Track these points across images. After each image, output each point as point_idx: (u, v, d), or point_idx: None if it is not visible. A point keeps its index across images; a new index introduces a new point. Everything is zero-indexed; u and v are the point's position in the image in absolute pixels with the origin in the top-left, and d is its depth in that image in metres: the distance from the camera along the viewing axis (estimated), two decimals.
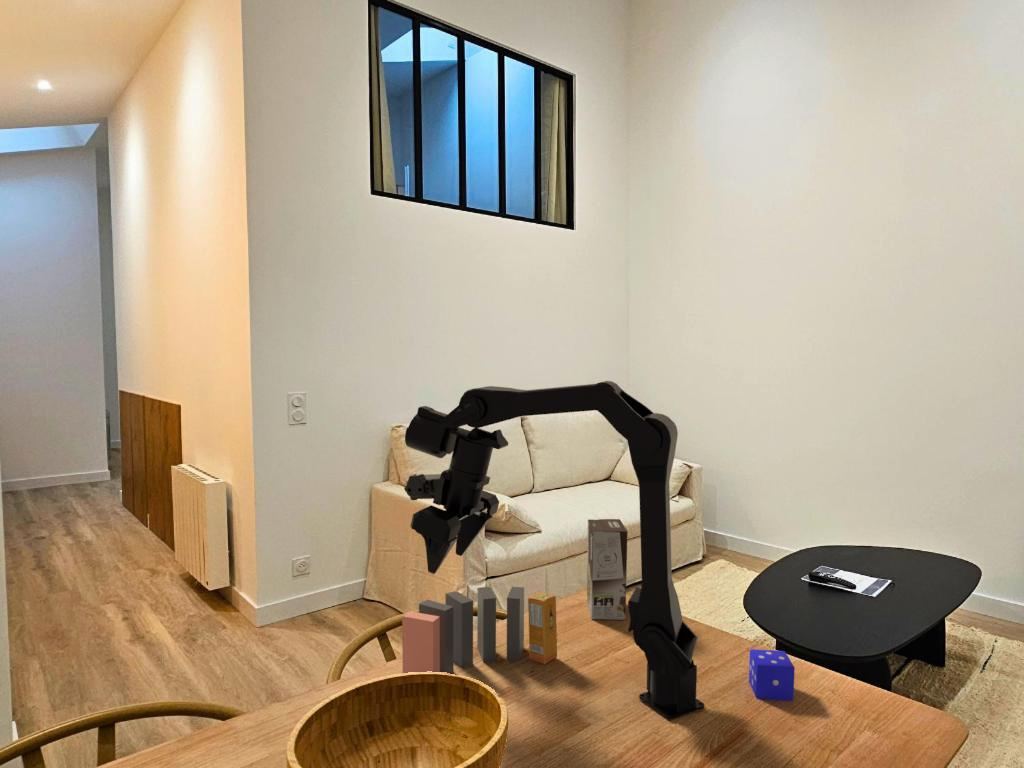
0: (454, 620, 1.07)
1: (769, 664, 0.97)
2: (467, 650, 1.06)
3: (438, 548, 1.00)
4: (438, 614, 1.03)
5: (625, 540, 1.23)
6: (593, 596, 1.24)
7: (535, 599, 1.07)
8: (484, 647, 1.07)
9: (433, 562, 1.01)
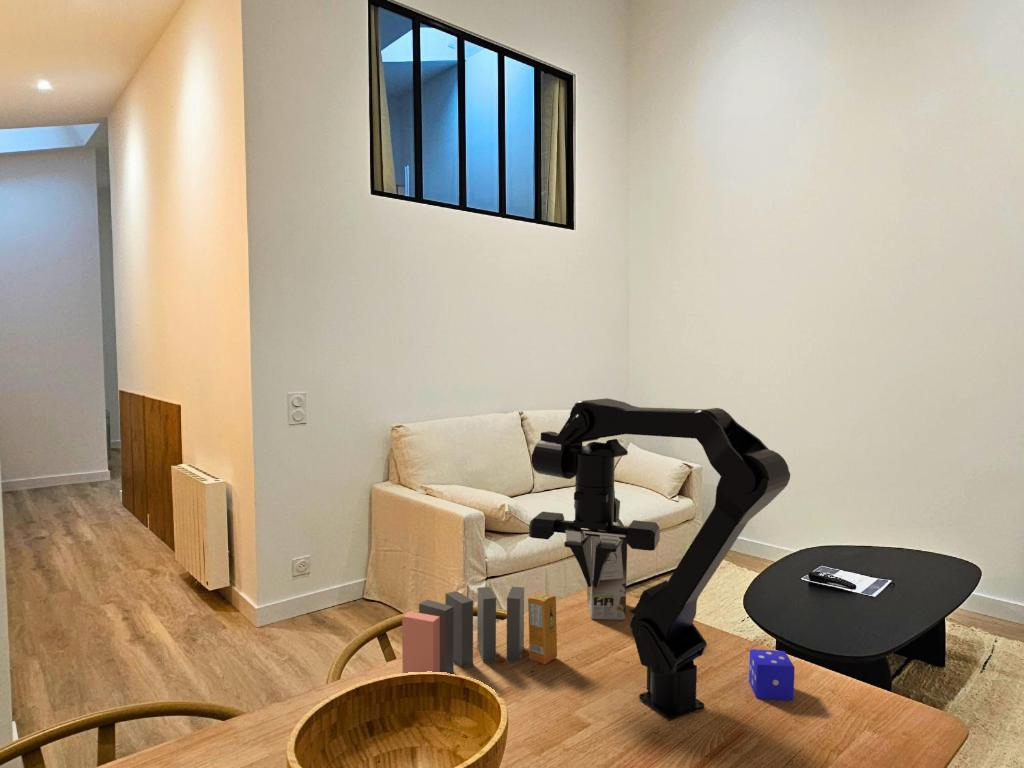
0: (454, 620, 1.07)
1: (769, 663, 0.97)
2: (467, 650, 1.06)
3: None
4: (438, 614, 1.03)
5: (625, 540, 1.23)
6: (593, 596, 1.24)
7: (535, 600, 1.07)
8: (484, 647, 1.07)
9: None
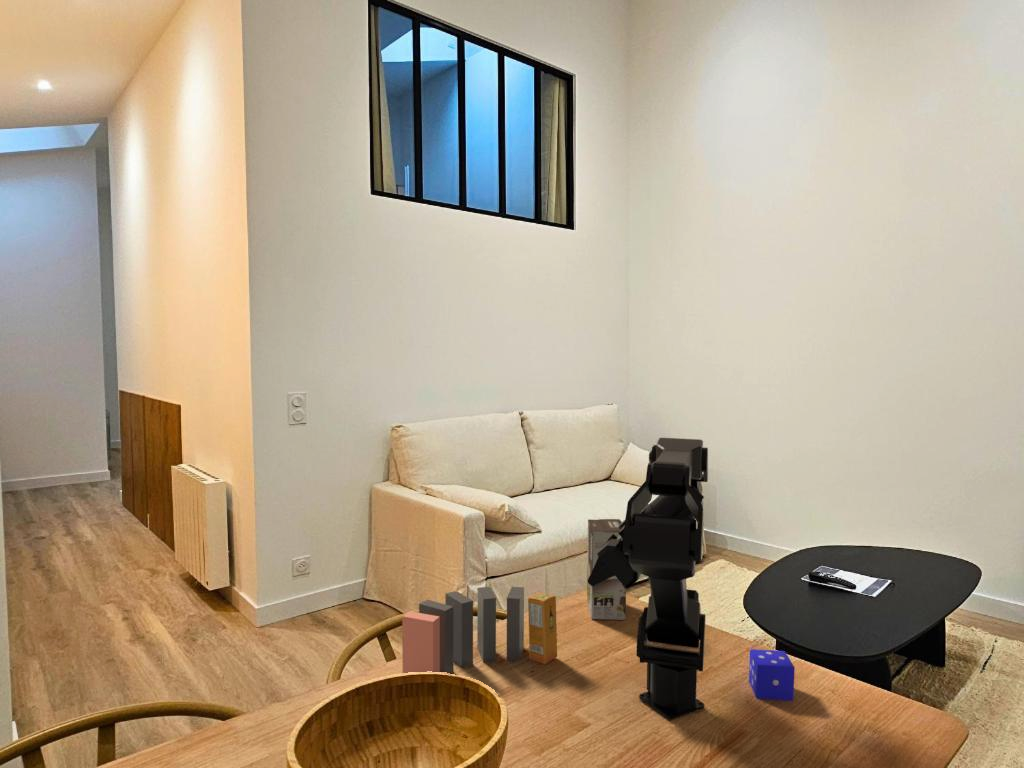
0: (454, 620, 1.07)
1: (769, 663, 0.97)
2: (467, 650, 1.06)
3: None
4: (438, 614, 1.03)
5: None
6: (593, 596, 1.24)
7: (535, 600, 1.07)
8: (484, 647, 1.07)
9: None
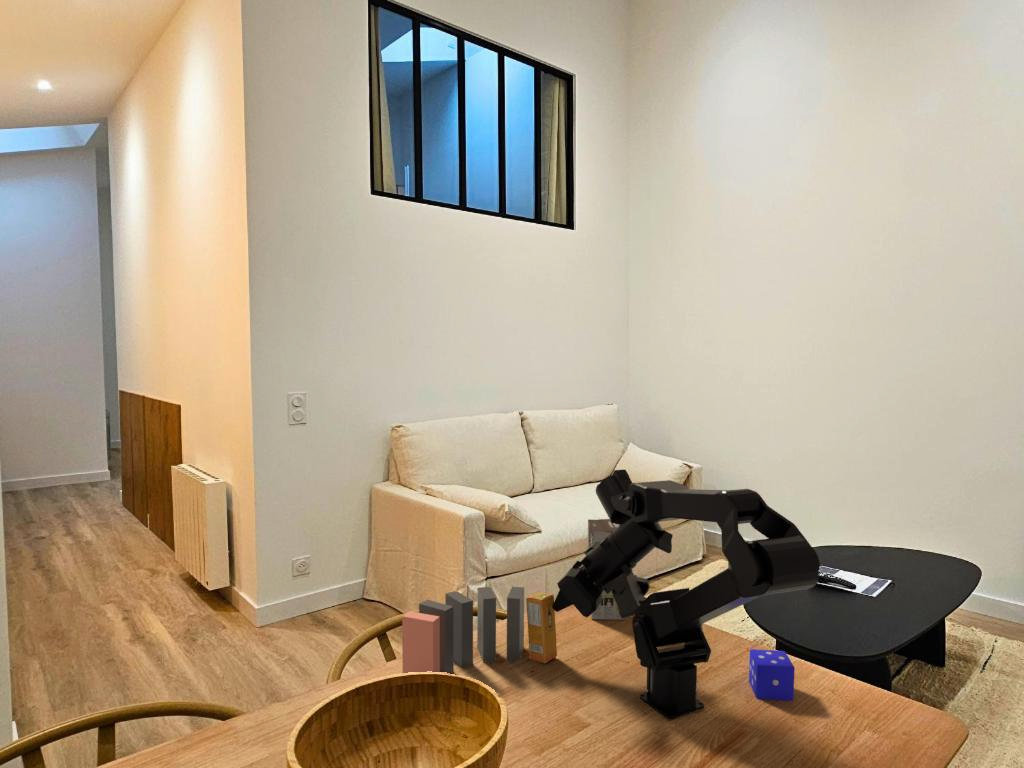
0: (454, 620, 1.07)
1: (769, 663, 0.97)
2: (467, 650, 1.06)
3: None
4: (438, 614, 1.03)
5: None
6: None
7: (533, 599, 1.07)
8: (484, 647, 1.07)
9: None
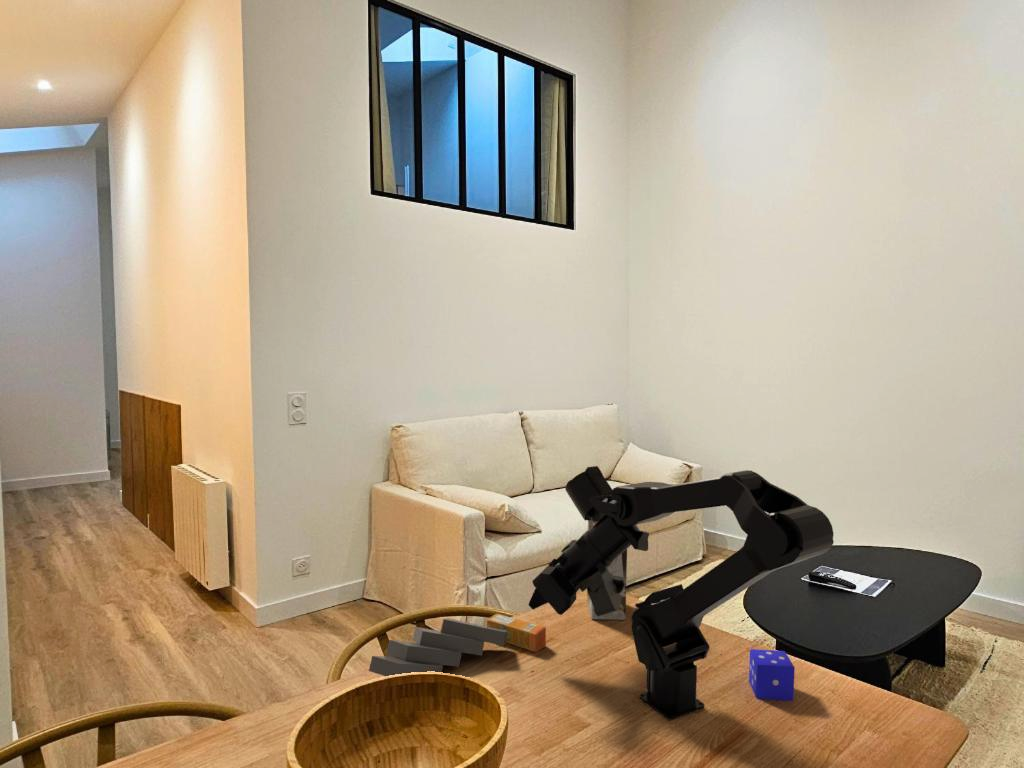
0: None
1: (769, 663, 0.97)
2: (447, 658, 1.03)
3: None
4: None
5: None
6: None
7: (491, 617, 1.17)
8: (467, 651, 1.06)
9: None
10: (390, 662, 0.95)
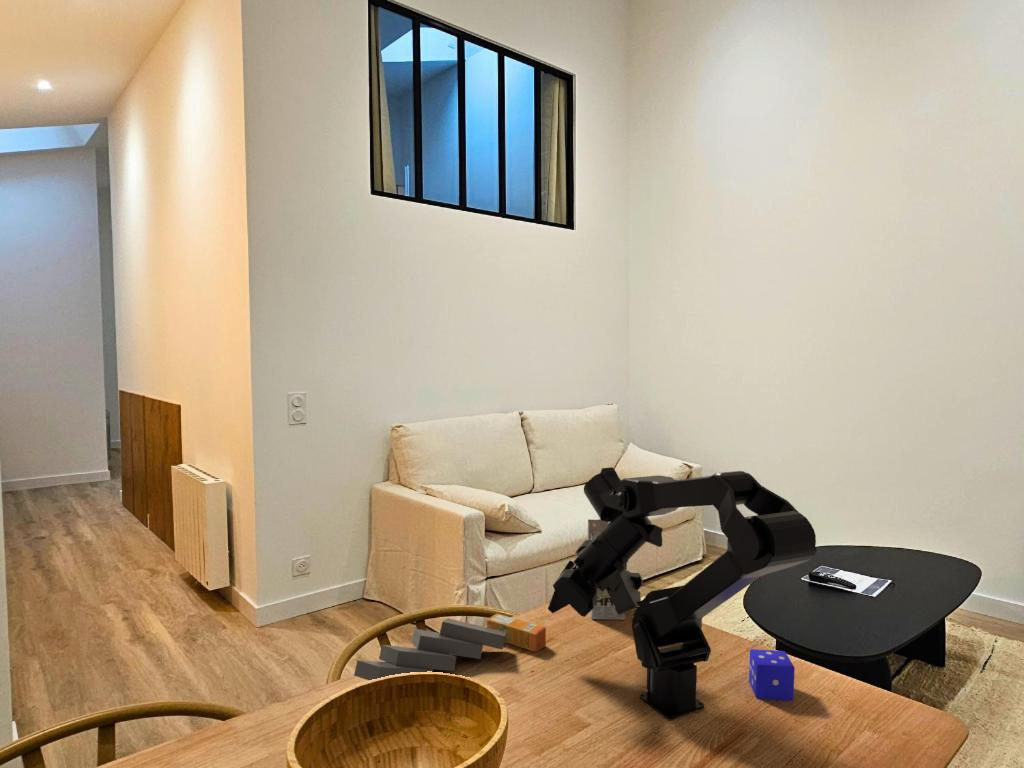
0: None
1: (769, 663, 0.97)
2: (441, 662, 1.02)
3: None
4: None
5: None
6: None
7: (491, 617, 1.17)
8: (466, 655, 1.06)
9: None
10: (373, 666, 0.94)
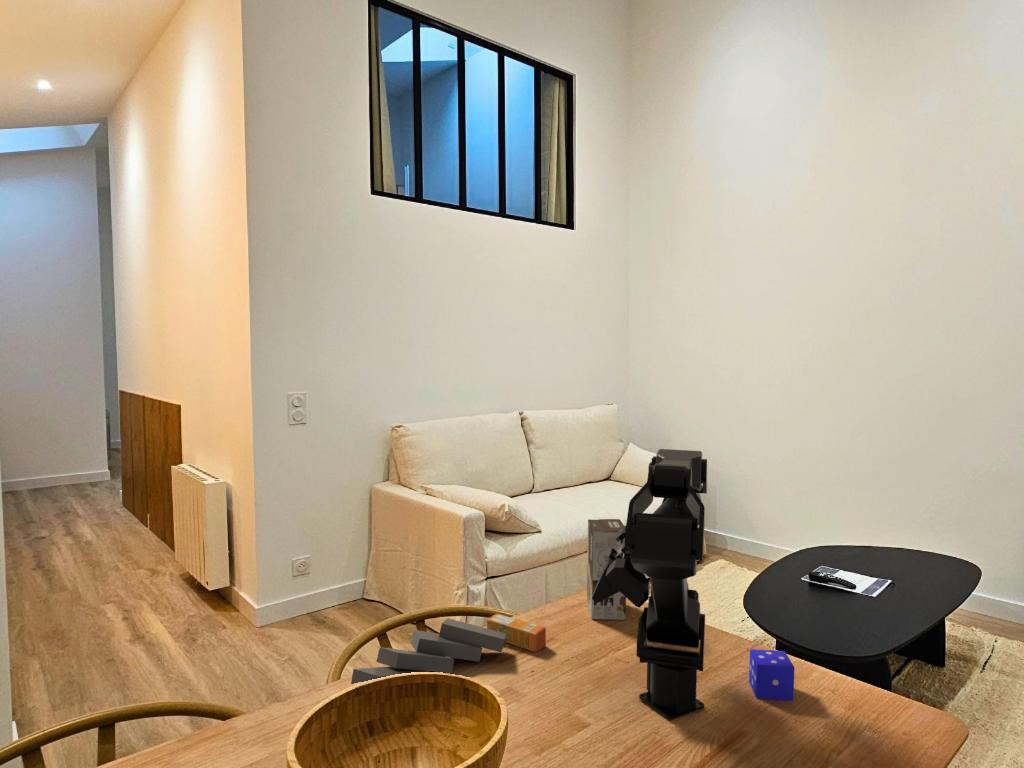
0: None
1: (769, 663, 0.97)
2: (440, 665, 1.01)
3: None
4: None
5: None
6: None
7: (491, 617, 1.17)
8: (465, 658, 1.05)
9: None
10: (371, 675, 0.92)
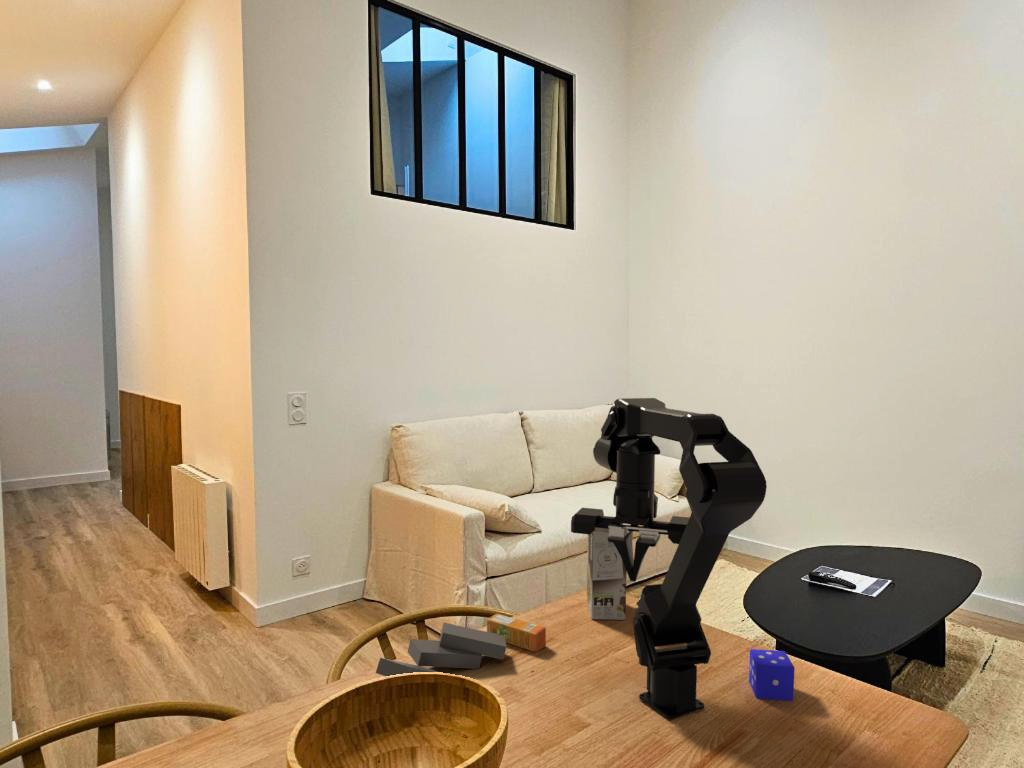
0: None
1: (769, 663, 0.97)
2: None
3: None
4: None
5: None
6: (593, 596, 1.24)
7: (491, 617, 1.17)
8: (465, 666, 1.04)
9: None
10: None
